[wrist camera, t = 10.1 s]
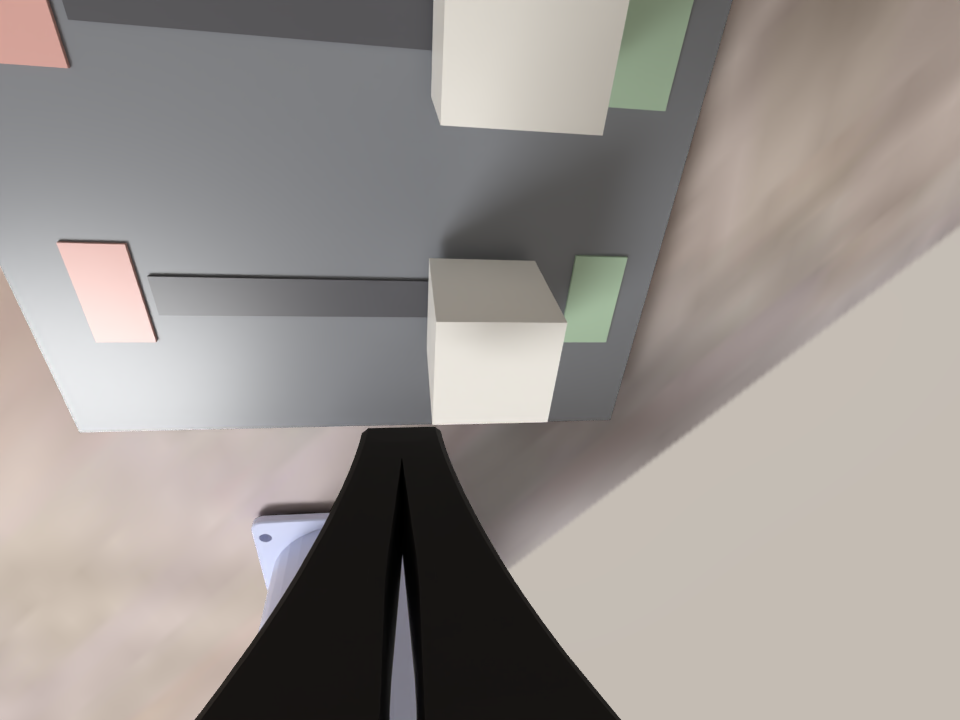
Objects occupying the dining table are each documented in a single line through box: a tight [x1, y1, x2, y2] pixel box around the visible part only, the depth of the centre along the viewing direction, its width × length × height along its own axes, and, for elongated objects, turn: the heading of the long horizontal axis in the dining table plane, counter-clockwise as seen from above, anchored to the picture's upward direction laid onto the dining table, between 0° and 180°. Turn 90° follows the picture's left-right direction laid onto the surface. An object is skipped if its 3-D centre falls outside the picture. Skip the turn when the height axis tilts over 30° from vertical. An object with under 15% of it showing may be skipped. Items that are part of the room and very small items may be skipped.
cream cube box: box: [431, 0, 630, 136], centre depth 10 cm, size 3×3×4 cm
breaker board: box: [0, 0, 732, 432], centre depth 14 cm, size 16×18×2 cm
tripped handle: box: [427, 258, 567, 425], centre depth 14 cm, size 3×3×4 cm
